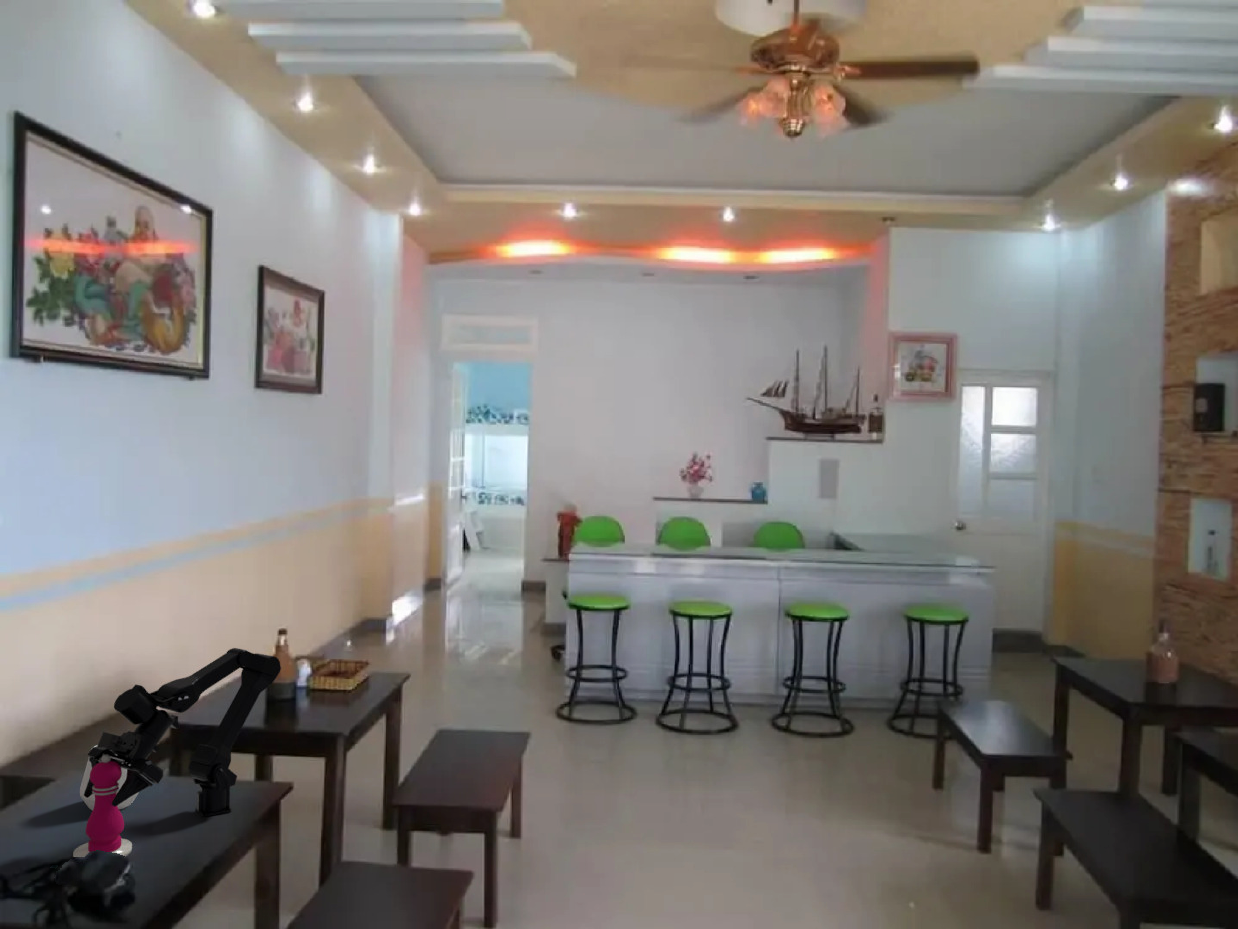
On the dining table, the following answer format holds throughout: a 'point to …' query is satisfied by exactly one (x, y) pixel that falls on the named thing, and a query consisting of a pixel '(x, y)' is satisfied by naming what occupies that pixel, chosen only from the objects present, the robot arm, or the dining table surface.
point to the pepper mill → (105, 807)
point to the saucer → (123, 850)
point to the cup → (91, 799)
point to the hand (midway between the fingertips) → (99, 801)
